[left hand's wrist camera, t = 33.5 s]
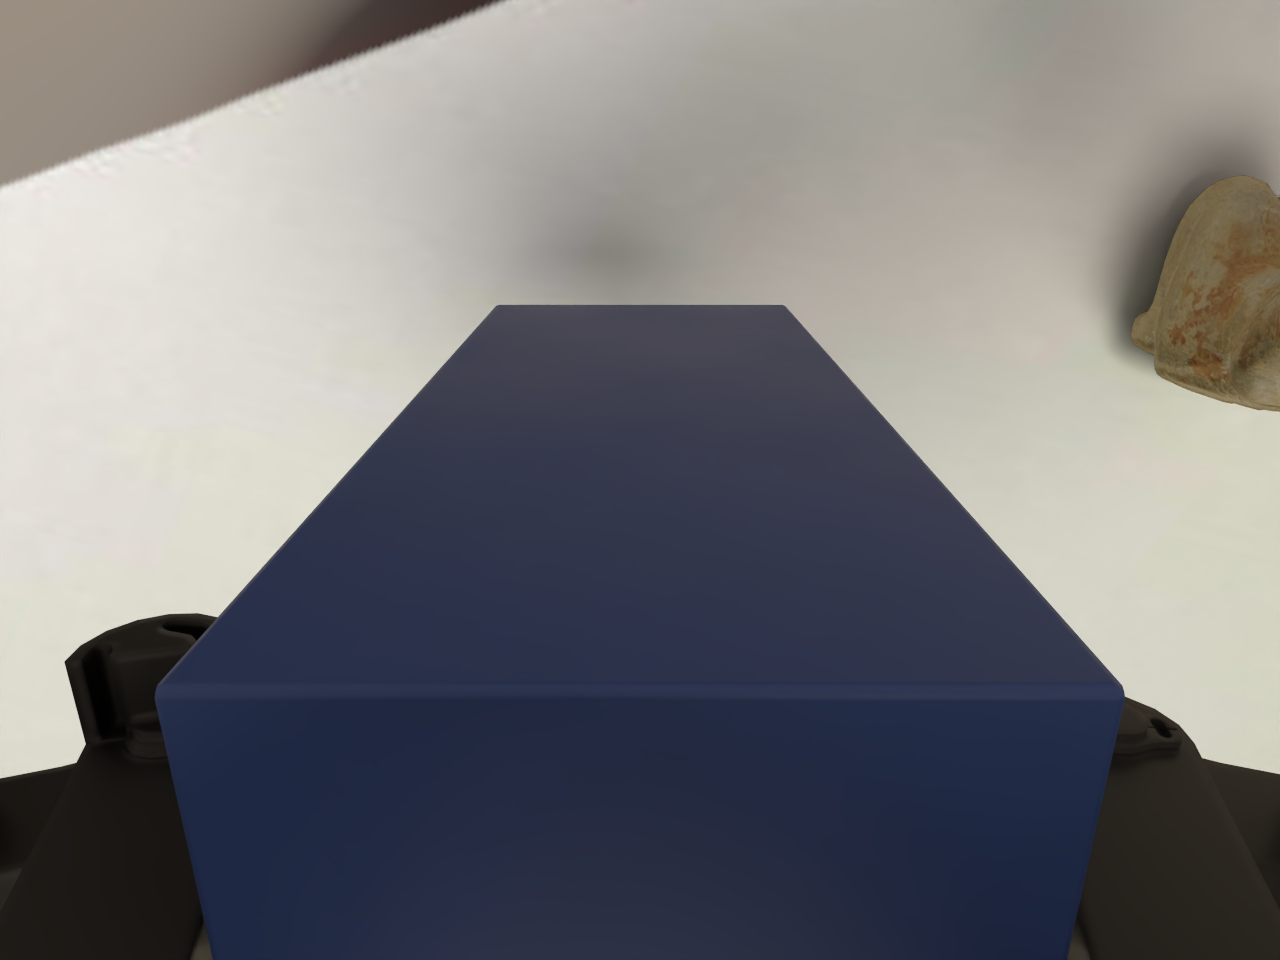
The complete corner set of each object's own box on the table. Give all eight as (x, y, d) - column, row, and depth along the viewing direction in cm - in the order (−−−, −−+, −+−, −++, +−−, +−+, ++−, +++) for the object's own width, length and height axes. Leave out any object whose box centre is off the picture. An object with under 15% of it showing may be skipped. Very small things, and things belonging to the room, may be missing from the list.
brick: (514, 625, 18) (306, 1402, 7) (495, 304, 15) (146, 689, 4) (767, 625, 17) (972, 1404, 7) (786, 304, 15) (1134, 689, 4)
